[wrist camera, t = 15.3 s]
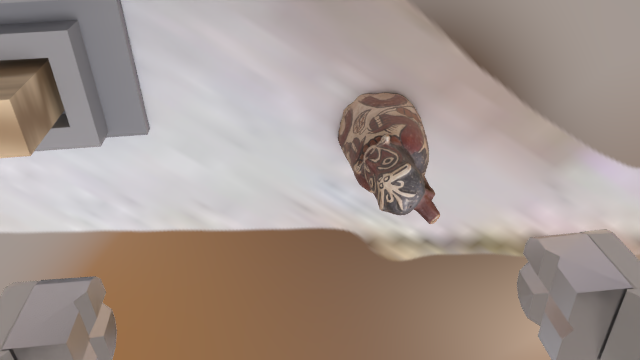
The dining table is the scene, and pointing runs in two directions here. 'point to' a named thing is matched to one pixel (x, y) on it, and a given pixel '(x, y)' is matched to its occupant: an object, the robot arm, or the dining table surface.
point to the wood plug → (26, 105)
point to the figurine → (389, 153)
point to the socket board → (100, 54)
